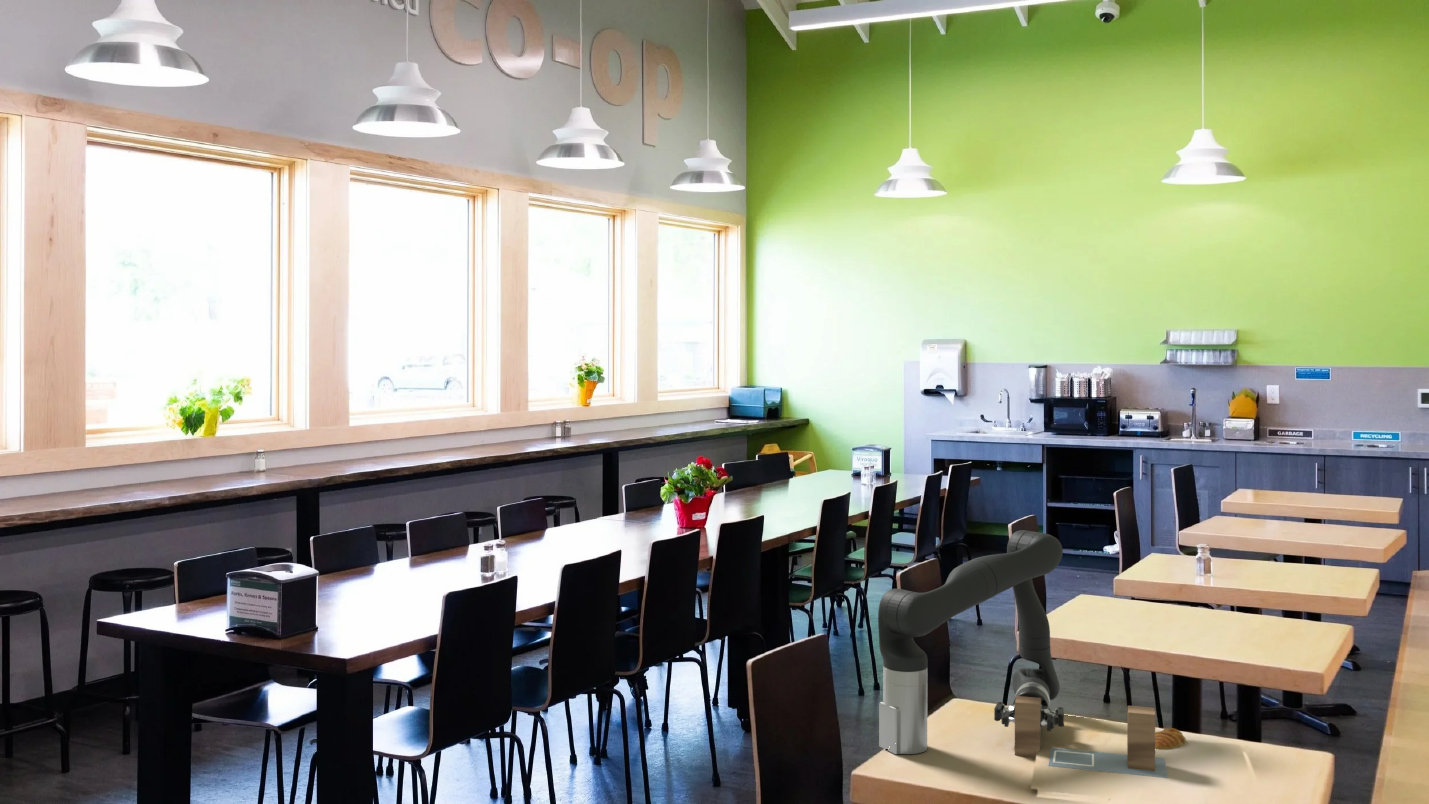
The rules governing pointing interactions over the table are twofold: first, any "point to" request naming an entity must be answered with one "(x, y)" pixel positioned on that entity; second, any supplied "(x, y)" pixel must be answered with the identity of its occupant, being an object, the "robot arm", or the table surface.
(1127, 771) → the board
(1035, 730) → the pillar
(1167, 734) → the pastry
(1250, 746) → the table surface
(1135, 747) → the built pillar
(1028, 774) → the table surface
